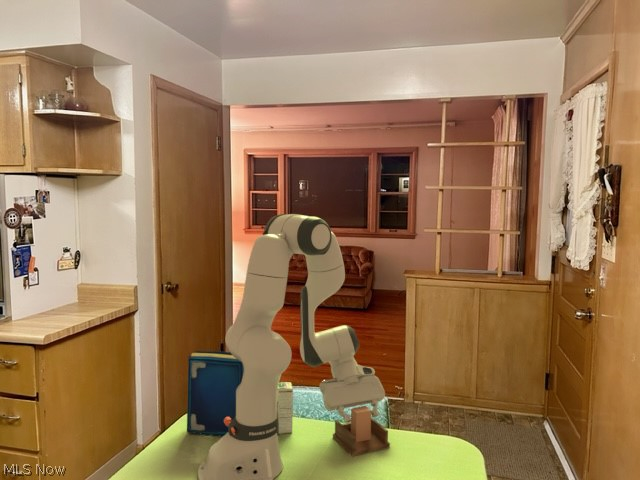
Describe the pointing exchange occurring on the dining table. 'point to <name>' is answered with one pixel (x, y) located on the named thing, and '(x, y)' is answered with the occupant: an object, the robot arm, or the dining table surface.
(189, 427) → the book
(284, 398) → the syrup box
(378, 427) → the walnut slot rack
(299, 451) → the dining table surface
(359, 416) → the terracotta block
